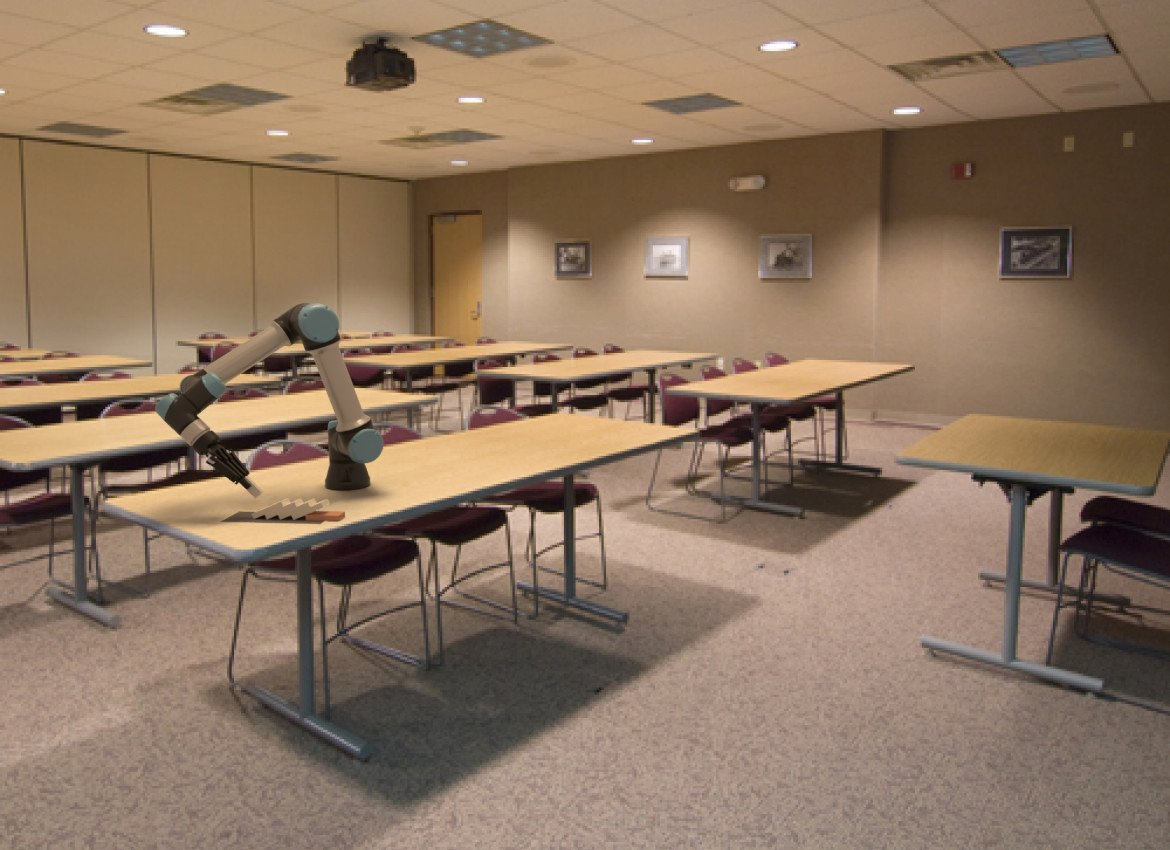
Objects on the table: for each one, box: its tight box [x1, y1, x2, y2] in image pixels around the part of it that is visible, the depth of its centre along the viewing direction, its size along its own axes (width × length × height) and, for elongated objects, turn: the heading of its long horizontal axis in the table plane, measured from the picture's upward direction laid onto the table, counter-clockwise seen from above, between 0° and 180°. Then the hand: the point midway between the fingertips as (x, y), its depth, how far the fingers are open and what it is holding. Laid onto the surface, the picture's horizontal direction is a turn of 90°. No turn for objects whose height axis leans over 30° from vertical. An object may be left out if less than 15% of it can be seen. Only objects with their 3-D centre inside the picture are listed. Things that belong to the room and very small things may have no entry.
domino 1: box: [252, 497, 291, 519], centre depth 266 cm, size 2×5×10 cm
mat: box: [219, 510, 325, 525], centre depth 266 cm, size 30×12×1 cm, turn 85°
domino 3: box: [278, 497, 317, 520], centre depth 265 cm, size 2×5×10 cm
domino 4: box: [291, 498, 331, 520], centre depth 265 cm, size 2×5×10 cm
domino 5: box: [306, 510, 346, 522], centre depth 265 cm, size 2×5×10 cm
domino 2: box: [265, 497, 304, 519], centre depth 265 cm, size 2×5×10 cm
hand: (259, 494), depth 266 cm, fingers closed
